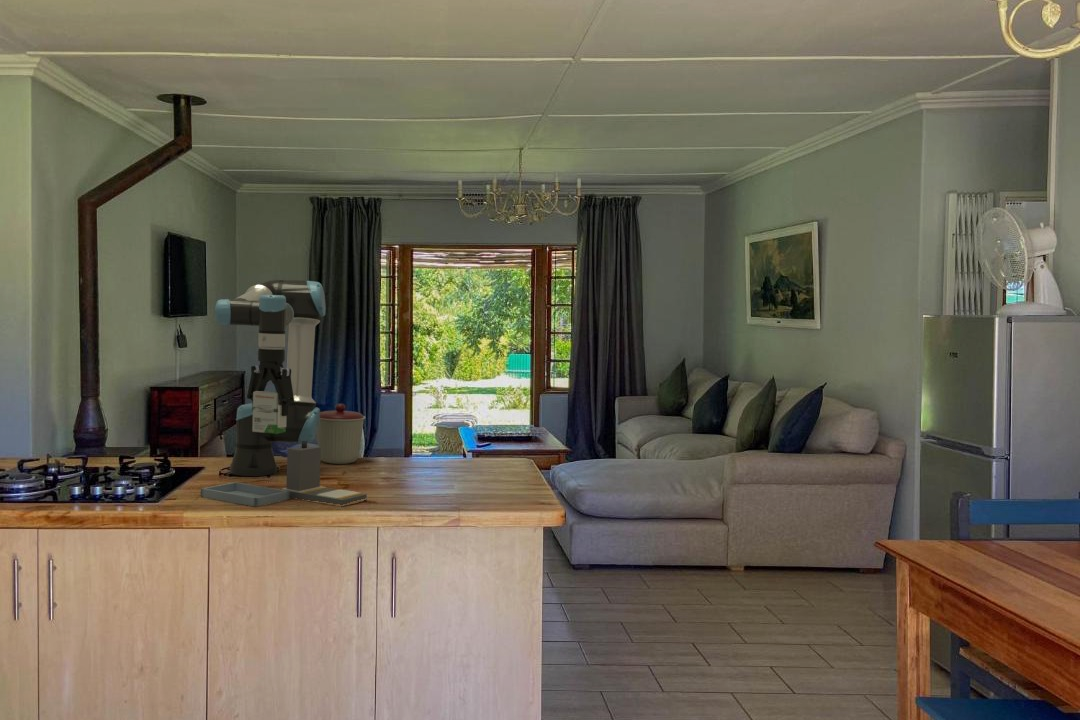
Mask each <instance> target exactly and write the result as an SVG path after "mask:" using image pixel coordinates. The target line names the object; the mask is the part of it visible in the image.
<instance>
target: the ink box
mask: <svg viewBox="0 0 1080 720" xmlns="http://www.w3.org/2000/svg"><path fill="white" fill-rule="evenodd" d="M279 403H280V401H279V398H278V393H277V392H276V391H270V390H264V391H255V392H253V429H252V431H253V432H263V433H274V434H278V433H283V432H286V427H281V428H278V405H279Z"/></svg>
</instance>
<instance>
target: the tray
mask: <svg viewBox="0 0 1080 720" xmlns="http://www.w3.org/2000/svg"><path fill="white" fill-rule="evenodd" d="M280 489H281V488H274V487H273V488H272V487H267V486H262V485H255V484H249V483H245V482H237V481H233V482H229V483H223V484H217V485H213V486H207V487H201V488H200V498H204V499H210V500H213V501H214V500H215V501H220V502H227V503H232V504H237V505H242V504H243V505H242V506H247V505H248V506H249V507H253V506H255V507H254V508H258V507H257V506H259V507H261V506H260V505H263V506H266V505H265V504H268V505H270V504H269V503H272V504H275V502H276V503H280V502H279V501H281V502H285V501H288V500H287V499H291V498H290V491H286V490H280ZM284 500H285V501H284Z"/></svg>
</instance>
